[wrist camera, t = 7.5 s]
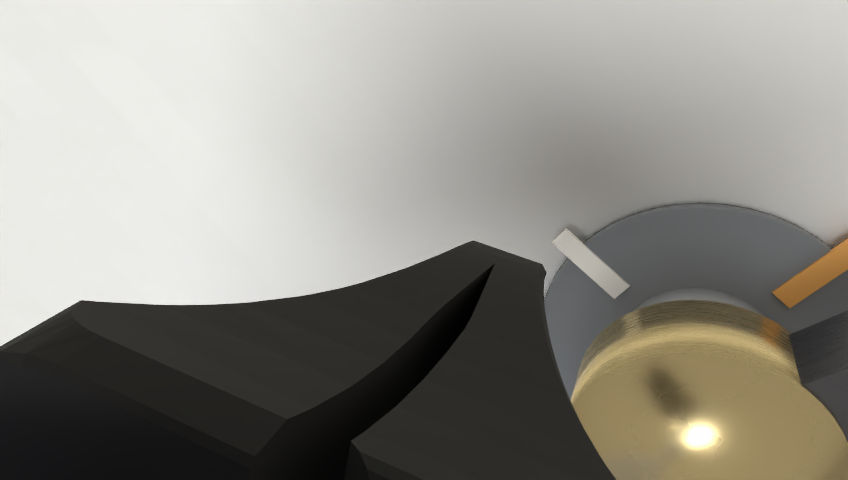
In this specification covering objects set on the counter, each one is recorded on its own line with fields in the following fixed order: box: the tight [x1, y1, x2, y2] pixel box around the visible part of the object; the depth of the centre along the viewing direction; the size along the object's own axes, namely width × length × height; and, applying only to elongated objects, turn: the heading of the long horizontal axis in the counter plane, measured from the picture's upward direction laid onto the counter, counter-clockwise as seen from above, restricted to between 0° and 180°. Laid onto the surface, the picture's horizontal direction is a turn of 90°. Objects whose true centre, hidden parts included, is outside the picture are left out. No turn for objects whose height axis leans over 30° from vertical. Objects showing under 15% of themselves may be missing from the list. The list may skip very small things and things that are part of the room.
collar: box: [571, 300, 848, 480], centre depth 14 cm, size 12×6×2 cm, turn 132°
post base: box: [544, 203, 848, 400], centre depth 18 cm, size 9×9×2 cm
